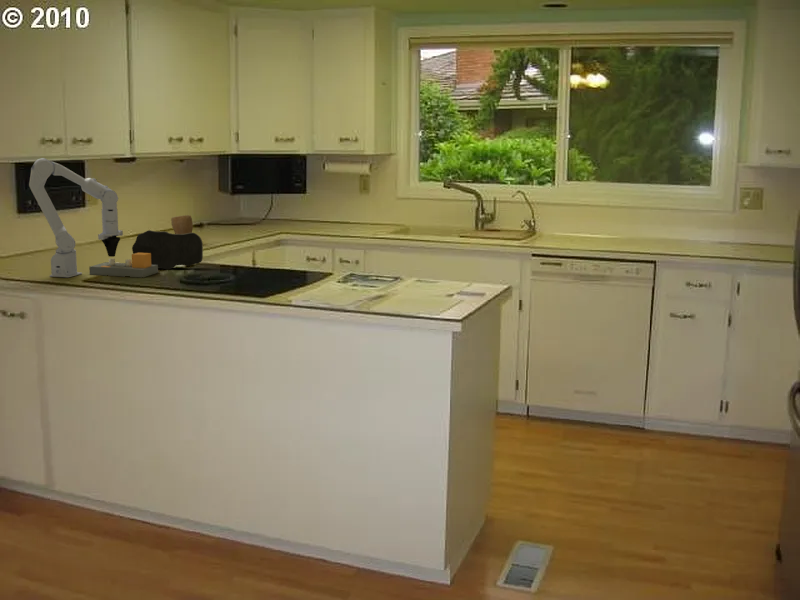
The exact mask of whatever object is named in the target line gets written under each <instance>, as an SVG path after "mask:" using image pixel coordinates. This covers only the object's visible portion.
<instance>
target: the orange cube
mask: <svg viewBox="0 0 800 600" xmlns="http://www.w3.org/2000/svg"><path fill="white" fill-rule="evenodd" d="M131 262H132V267H133V268H147V267H150V266H151V253H135V254H133V253H132V254H131Z"/></svg>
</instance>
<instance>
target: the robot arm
mask: <svg viewBox="0 0 800 600" xmlns="http://www.w3.org/2000/svg"><path fill="white" fill-rule="evenodd" d="M51 175H53V176H62V177H63V178H65V179H67V180H69V181H71V182H72V183H75V184H77V185H79V186H80V188H81V190H82V192H84V193H86V194H87V195H89V196H91V197H93V198H94V199H96V200H99V201H101V222H102V224H101V226H102V232H101V233H99V234H97V240H98V241H100V240H101V242H102V243H103V245H104V247H105V249H106V253H107V256H108V257H112V258H113V257H116V254H117V253H116V252H117V249H118V245H119V243H120V240H121V237H120V236H123V235H124V232H123V229H121V230H120V229H119V216H118V215H119V214H118V204H117V203H118V201H119V197H118V194H117V192H116V191H115V190H114V189H113V190H112V189H111V188H109V186H108V185H104V184H102V183H101V182H98V181H97V179H96V178H95V177H92V178H91V177H87V178H84V177H83V176H81V175H79V174H77V172H76V173H75V172H74V171H72V170H70V169H69V168H68V167H65V166H64V165H62V164H60V163H57V162H54V161H51V160H49V159H47V158H46V157H41V158H38V159H36V160H35V161H34V163H33V165H32V166H31V168H30V177H29V182H28V187H29V189H30V190H31V193H32V194H33V197H34V198H35V200H36V202H37V204H38V206H39V208H40V209H41V211H42V214H43V216H44V218H45V219H46V221H47V223H48V225H49V227H50V229H51V231H52V233H53V235H54V238H55V244H56V246H57V248H56V249H55V254H53V255H52V256H51V258H50V269H51V274H49V277H50V278H51V277H55V278H71V277H74V276H78V275H83V272H81V271H78V265H77V249H75V248H76V240H75V239H74V237H73V236H72V235H71V234H70V233H69V232H68V230H67V229H66V226H65V225H64V222H63V221H62V219H61V217H60V216H59V213H58V211H57V209H56V208H55V205H54V204H53V202H52V200H51V198H50V196H49V194H48V193H47V190H46V188H45V186H46V185H45V184H46V182H47V179H48V178H49V177H50V176H51Z"/></svg>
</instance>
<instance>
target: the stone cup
mask: <svg viewBox="0 0 800 600" xmlns="http://www.w3.org/2000/svg"><path fill="white" fill-rule="evenodd" d="M170 219H171V220H170V221H171V226H172V230H173V232H174V234H186V233H193V229H194V224H193V218H192V216H191V215H189V214H185V215H176V216H172V217H171V218H170Z"/></svg>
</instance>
